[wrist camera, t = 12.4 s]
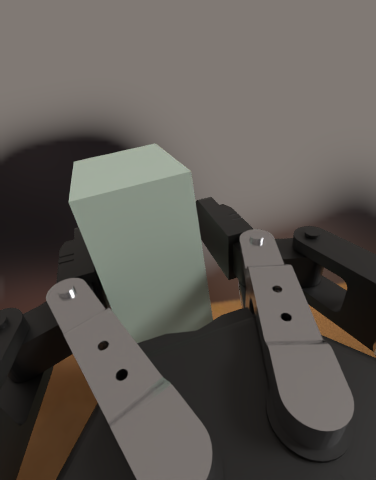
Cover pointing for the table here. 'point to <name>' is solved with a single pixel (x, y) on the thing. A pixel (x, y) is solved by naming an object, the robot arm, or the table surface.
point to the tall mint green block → (143, 239)
